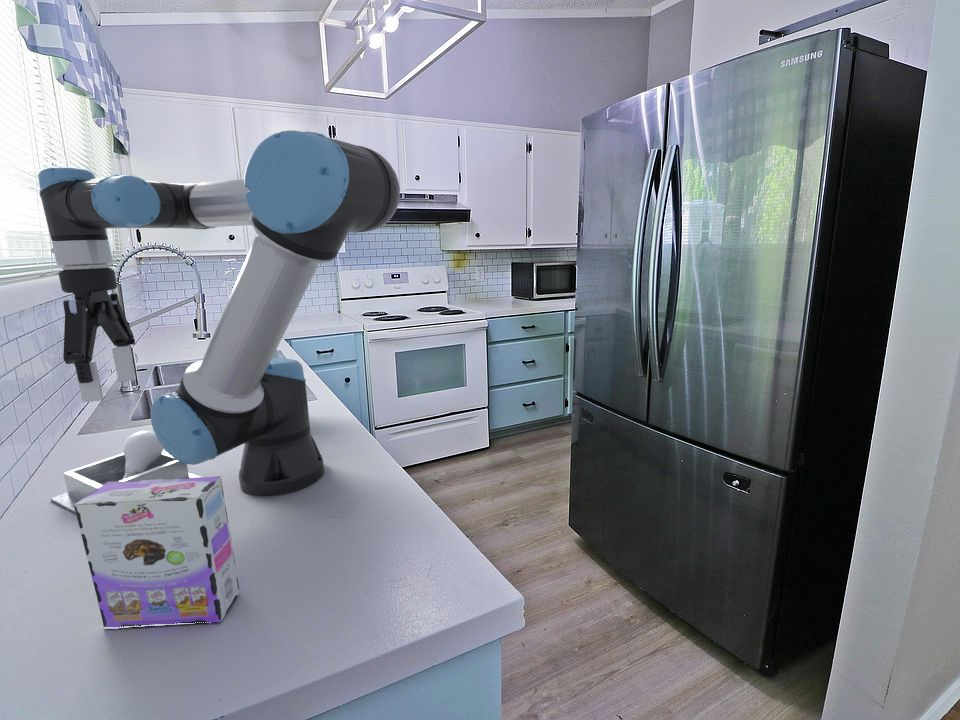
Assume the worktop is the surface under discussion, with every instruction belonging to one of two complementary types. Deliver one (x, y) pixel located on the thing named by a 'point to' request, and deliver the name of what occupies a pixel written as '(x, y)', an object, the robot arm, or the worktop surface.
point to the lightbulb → (140, 452)
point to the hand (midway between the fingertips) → (111, 390)
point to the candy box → (159, 551)
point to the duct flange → (115, 476)
